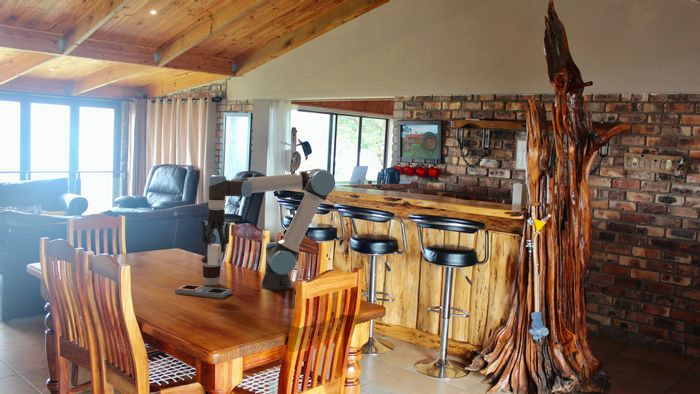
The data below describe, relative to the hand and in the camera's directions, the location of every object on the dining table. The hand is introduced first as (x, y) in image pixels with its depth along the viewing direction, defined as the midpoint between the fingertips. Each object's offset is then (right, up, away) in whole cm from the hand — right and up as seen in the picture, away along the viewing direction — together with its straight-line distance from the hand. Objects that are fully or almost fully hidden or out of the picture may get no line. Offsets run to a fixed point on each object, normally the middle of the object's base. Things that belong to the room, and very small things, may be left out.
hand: (215, 258), depth 274 cm
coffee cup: (-7, -16, +23) cm, 29 cm away
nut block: (0, -3, 0) cm, 3 cm away
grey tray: (-6, -17, +3) cm, 19 cm away
